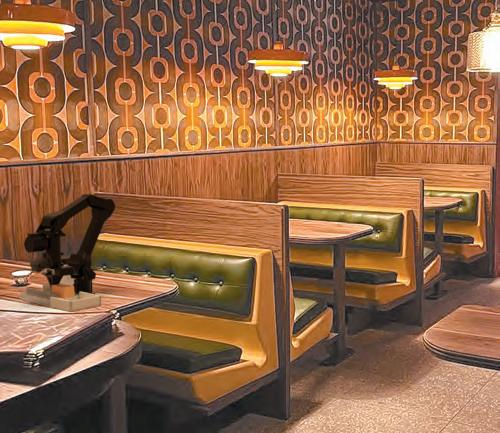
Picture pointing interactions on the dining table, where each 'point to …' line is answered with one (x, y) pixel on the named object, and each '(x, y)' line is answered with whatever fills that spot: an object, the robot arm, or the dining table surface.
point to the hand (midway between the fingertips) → (53, 291)
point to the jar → (67, 279)
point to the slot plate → (42, 295)
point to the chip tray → (76, 302)
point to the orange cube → (66, 291)
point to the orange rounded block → (56, 288)
